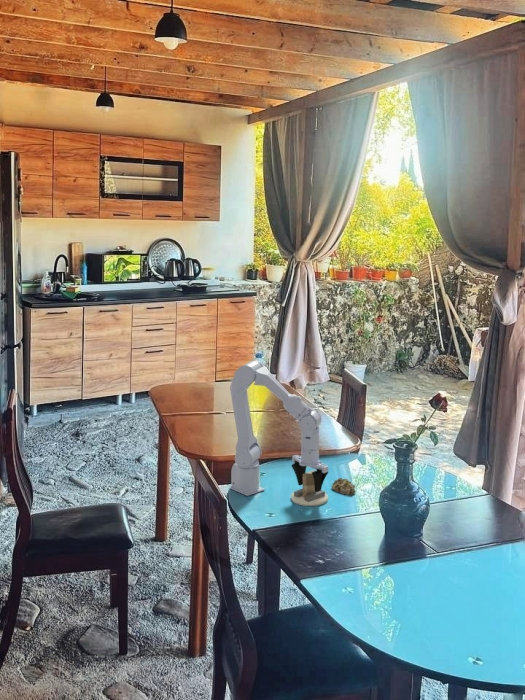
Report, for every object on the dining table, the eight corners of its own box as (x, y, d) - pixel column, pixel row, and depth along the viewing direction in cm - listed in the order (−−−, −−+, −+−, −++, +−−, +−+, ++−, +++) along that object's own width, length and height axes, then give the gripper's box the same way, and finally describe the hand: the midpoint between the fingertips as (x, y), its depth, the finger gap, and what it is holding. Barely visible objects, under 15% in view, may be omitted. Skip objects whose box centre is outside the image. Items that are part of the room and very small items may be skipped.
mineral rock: (325, 480, 250) (346, 471, 252) (328, 491, 251) (348, 482, 253) (339, 492, 240) (360, 483, 242) (342, 503, 241) (363, 494, 244)
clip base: (283, 498, 240) (283, 491, 239) (309, 488, 247) (309, 482, 247) (309, 509, 231) (309, 501, 230) (335, 499, 239) (335, 492, 238)
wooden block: (302, 497, 238) (302, 473, 236) (313, 493, 241) (313, 470, 240) (305, 498, 237) (306, 475, 235) (316, 494, 240) (317, 471, 238)
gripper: (285, 445, 238) (285, 484, 241) (317, 456, 228) (317, 497, 231) (300, 440, 243) (300, 479, 246) (333, 451, 233) (332, 491, 235)
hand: (309, 487), depth 238 cm, fingers open, 7 cm apart
